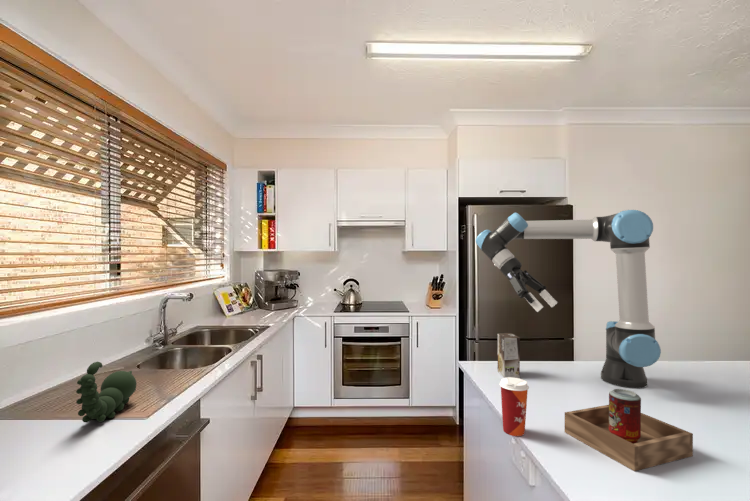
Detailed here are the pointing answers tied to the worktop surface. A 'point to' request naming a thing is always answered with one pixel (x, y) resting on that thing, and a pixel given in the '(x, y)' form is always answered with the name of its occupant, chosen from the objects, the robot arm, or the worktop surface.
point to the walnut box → (649, 451)
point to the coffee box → (509, 355)
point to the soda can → (625, 414)
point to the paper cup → (514, 405)
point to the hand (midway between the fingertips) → (547, 307)
